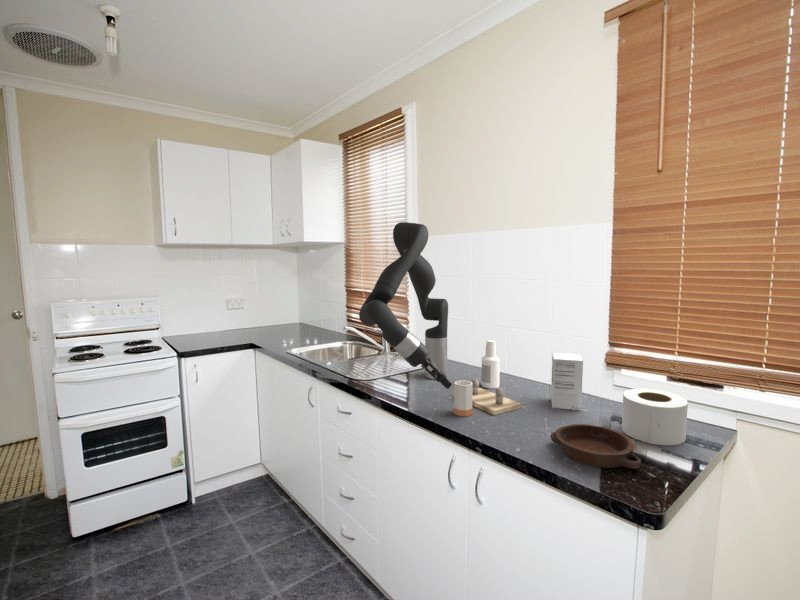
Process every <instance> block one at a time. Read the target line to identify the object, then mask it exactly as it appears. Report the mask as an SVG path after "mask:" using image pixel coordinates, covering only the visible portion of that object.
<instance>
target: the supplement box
mask: <svg viewBox="0 0 800 600" xmlns="http://www.w3.org/2000/svg"><path fill="white" fill-rule="evenodd" d="M551 356H552V357H551V361H552V362H551V384H550V385H551V393H550V395H551V396H550V400H551V408H552V409H560V410H561V409H563V410H570V409H571V410H572V411H580V410H581V411H582V402H583V401H582V398H583V397H582V396H583V373H584V361H583V359H582V355H581V354H578V353H563V352H552V354H551Z"/></svg>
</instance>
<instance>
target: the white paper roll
mask: <svg viewBox="0 0 800 600" xmlns="http://www.w3.org/2000/svg"><path fill="white" fill-rule="evenodd" d="M688 405H689V402H688V400H687V399H686V398H684V397H682V396H680V395H678V394H676V393H673V392H668V391H664V390H660V389H653V388H652V389H651V388H632V389H627V390H624V392H623V393H622V414H621V415H622V419H621V430H622V431H623V433H624V434H626V436H629V437H630V438H633V439H636V440H638V441H641V442H644V443H648V444H652V445H660V446H677V445H682V444H684V443H685V442H686V437H687V421H688V420H687V419H688V408H689V407H688Z"/></svg>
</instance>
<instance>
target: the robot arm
mask: <svg viewBox="0 0 800 600" xmlns="http://www.w3.org/2000/svg"><path fill="white" fill-rule="evenodd" d="M392 239H393V242H394V246H395V247H396V248H395V249H396V250H397V252H398V253H399V255H400V256H399V257H398V258H397V259H395V260H394V261H393V262H391V263H390V264H388V265H387V266H386V267H385V268H384V269H383V270H382V271H381V272H380V275H379V276H378V279H377V281H376V282H375V285H374V287H373V289H372V290H371V292H370V293H369V295H368V296H367V298H366V300H364V302H363V304H362V305H361V308H360V310H359V313H358V317H359V320H360V323H362V324H363V325H364V326H367V327H374V326H375V325H376V326H377V327H378V328H379V329H380V330H381V337H382V338H383V340H385V342H387V343H388V344H389V345H390V346H391V347H392V348H393V349H394V350H395V351H396V353H397V354H398V355H399V356H401V358H402V359H404V360H405V361H406V362H407V364H409V365H410V366H411V367H412V368H416V367H418V366H420V367H421V369H422V370H423V371H424V373H423V374H424V376H425V378H427V379H430V380H436V382H437V383H440V384H441V386H443V387H444V388H445V389H446V390H447V389H448V390H449V389H450V388H451V387H452V385H453V384H452V382H451V381H450V380H449V379H448V323H449V322H448V321H449V319H448V318H449V304H448V301H447V299H446V298H430V297H429V295H430V293H431V292H432V291H433V289H434V288H435V286H436V285H435V284H436V282H437V280H436V276H435V272H434V268H433V266H432V265H431V263H430V262H429V261H428V260H427V259H426V258H425V257H424V256H423V255H422V254H421V253H422V252H423V251H424V249H425V247H426V245H427V243H428V241H429V230H428V227H427V226H426V225H424V224H423V223H415V222H408V221H406V222H405V221H403V222H401V221H400V222H397V224H395V225H394V227H393V231H392ZM407 273H408V277H409V279H410V282H411V285H412V287H413V289H414V291H415V292H414V293H415V295H416V298H417V302H418V305H419V310H420V312H421V317H422V318H423V319H424V320H426V321H434V322H435V321H437V322H438V324H436V325H435V326H433V327H430V328H426V330H425V332H424V335H425V337H424V341H425V343H424V344H423V342H422V341H421V340H419V339H418V337H417V336H416V335H414V334H413V333H411V332H410V331H409V330H408V329H407V328H406V327H405V326H404V325H403V324H401V323H400V322H399V320H398V318H397V317H396V315H395V313H394V312H393V311H392V310H391V308H390V307H389V306H388V304H389V303H390V302H391V301H392V300H393V298H394V297H395V295H396V294H397V291H398V289H399V287H400V286H401V283H402V281H403V279H404V277H405V276H406V274H407Z"/></svg>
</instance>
